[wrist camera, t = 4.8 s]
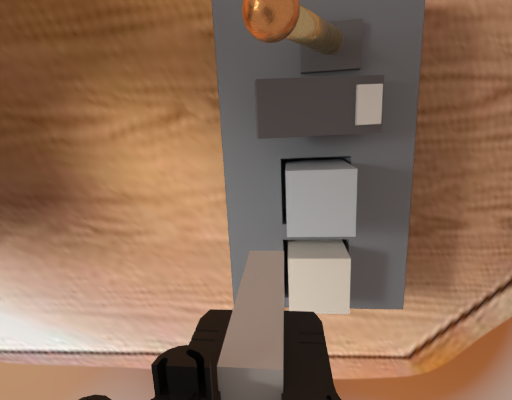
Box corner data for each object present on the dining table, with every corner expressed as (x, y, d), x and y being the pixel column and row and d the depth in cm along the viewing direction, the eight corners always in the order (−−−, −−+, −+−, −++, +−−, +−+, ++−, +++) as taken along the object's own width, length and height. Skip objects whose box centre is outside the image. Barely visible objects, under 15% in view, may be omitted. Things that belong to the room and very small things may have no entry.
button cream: (289, 275, 28) (289, 312, 23) (288, 231, 27) (287, 258, 22) (336, 275, 28) (349, 314, 22) (337, 230, 27) (350, 258, 21)
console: (242, 278, 31) (230, 316, 25) (226, 20, 25) (205, -16, 19) (384, 279, 29) (410, 320, 23) (399, 3, 24) (438, -41, 18)
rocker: (256, 138, 20) (259, 139, 18) (254, 82, 19) (256, 78, 18) (372, 132, 21) (383, 132, 19) (375, 78, 20) (386, 74, 18)
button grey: (287, 212, 26) (287, 237, 20) (286, 161, 25) (285, 171, 19) (340, 211, 25) (355, 236, 19) (341, 159, 24) (357, 168, 18)
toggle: (316, 68, 20) (232, 42, 14) (316, 26, 20) (228, -24, 13) (354, 61, 19) (281, 28, 12) (355, 16, 18) (279, -47, 11)
